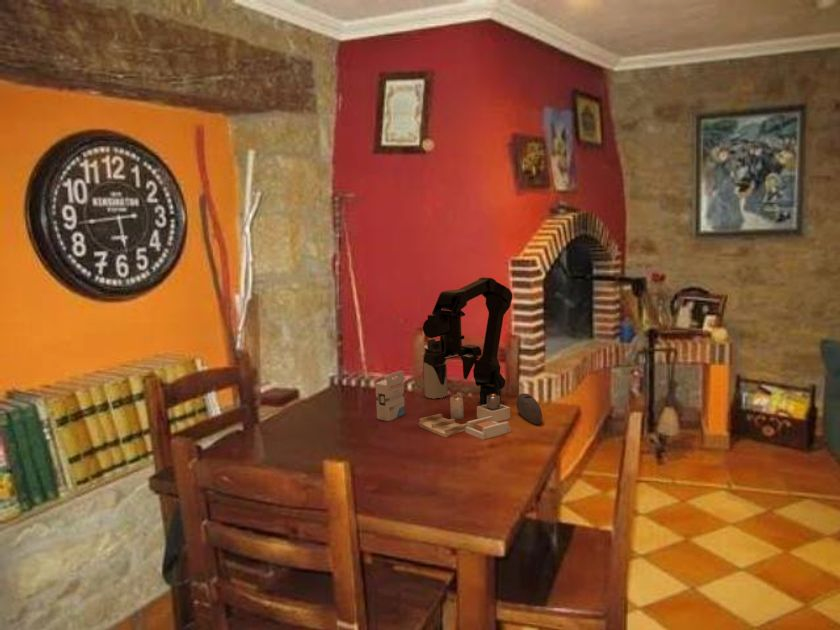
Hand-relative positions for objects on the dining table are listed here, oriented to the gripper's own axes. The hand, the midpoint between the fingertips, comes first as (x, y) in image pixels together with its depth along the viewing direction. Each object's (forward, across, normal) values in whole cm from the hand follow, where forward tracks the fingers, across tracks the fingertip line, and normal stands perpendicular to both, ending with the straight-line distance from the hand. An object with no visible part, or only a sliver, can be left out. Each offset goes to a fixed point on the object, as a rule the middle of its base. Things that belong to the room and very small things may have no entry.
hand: (453, 381), depth 202 cm
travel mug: (+12, -11, -24) cm, 29 cm away
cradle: (+12, +2, +18) cm, 21 cm away
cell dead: (+11, -8, +9) cm, 17 cm away
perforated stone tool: (+12, -16, +17) cm, 26 cm away
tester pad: (+12, +2, +18) cm, 21 cm away
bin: (+12, -8, +9) cm, 17 cm away
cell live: (+12, 0, +1) cm, 12 cm away
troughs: (+12, +9, +5) cm, 16 cm away
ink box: (+12, +14, -15) cm, 24 cm away
